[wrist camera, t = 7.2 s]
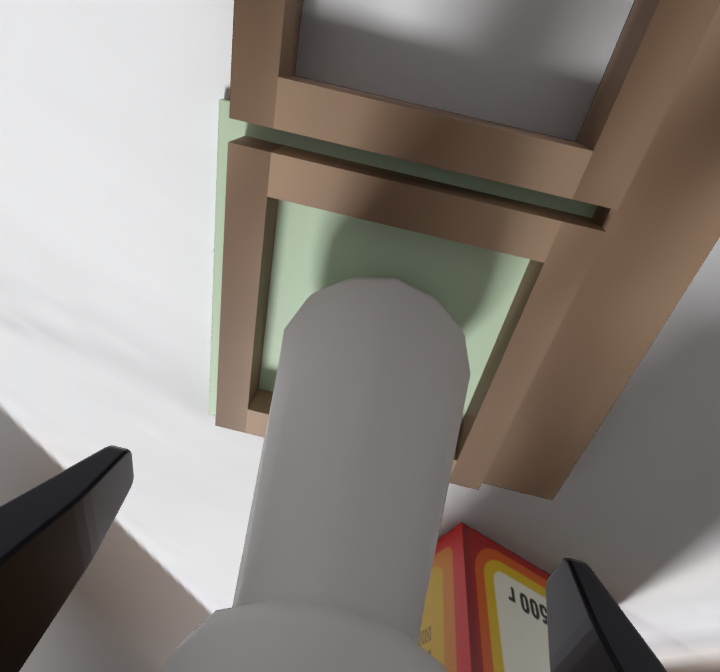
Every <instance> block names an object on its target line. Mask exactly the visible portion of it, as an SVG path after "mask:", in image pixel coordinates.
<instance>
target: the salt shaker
mask: <svg viewBox="0 0 720 672" xmlns="http://www.w3.org/2000/svg"><path fill="white" fill-rule="evenodd" d="M469 379H470V367H469V360H468V354H467V347H466V340H465V335H464V333H463V331H462V329H461V328H460V326H459V325H458V324H457V323H456V322H455V320H454V319H453V318H452V317H451V316H450V314H449V313H448V312H447V311H446V310H445V308H444V307H443V306H442V305H441V304H440V302H439V301H438V300H437V299H436V298H435V297H434V296H432V295H430V294H428V293H426V292H424V291H422V290H420V289H418V288H416V287H414V286H412V285H410V284H408V283H406V282H404V281H402V280H400V279H398V278H396V277H351V278H349V279H346V280H344V281H341V282H339V283H336V284H334V285H332V286H329V287H327V288H324V289H322V290H319V291H317V292H314V293H313V294H312V295H310V296H309V297H308V298H307V299H306V301H305V302H304V303H303V305H302V306H301V307H300V309H299V310H298V311H297V313H296V314H295V315H294V317H293V318H292V319H291V321H290V322H289V323H288V325H287V326H286V327H285V329H284V333H283V339H282V345H281V352H280V358H279V364H278V370H277V375H276V381H275V386H274V391H273V396H272V402H271V407H270V412H269V417H268V423H267V428H266V433H265V438H264V443H263V449H262V454H261V459H260V464H259V470H258V475H257V480H256V485H255V491H254V496H253V501H252V506H251V512H250V517H249V522H248V527H247V533H246V538H245V543H244V548H243V554H242V559H241V564H240V569H239V574H238V580H237V585H236V590H235V595H234V601H233V606H232V608H227V609H221V610H216V611H215V612H214V613H213V614H212V615H210V616H209V617H208V618H207V619H206V620H205V621H203V622H202V623H201V624H200V625H199V626H198V627H197V628H196V629H194V630H193V631H192V632H191V633H190V634H189V635H188V636H187V637H186V638H185V639H184V640H183V642H182V643H181V644H180V645H179V646H178V648H177V649H176V650H175V651H174V652H173V654H172V655H171V656H170V657H169V659H168V661H167V663H166V665H165V667H164V669H163V671H162V672H447V671H446V667H445V666H444V665H443V664H441V663H440V662H439V661H438V660H436V659H435V658H434V657H433V656H432V655H430V654H429V653H428V652H427V651H425V650H424V649H423V648H422V647H421V646H419V645H418V642H419V636H420V630H421V624H422V618H423V612H424V606H425V601H426V596H427V591H428V585H429V580H430V575H431V570H432V565H433V560H434V555H435V550H436V545H437V540H438V535H439V530H440V525H441V520H442V515H443V510H444V505H445V500H446V495H447V490H448V485H449V480H450V475H451V470H452V465H453V460H454V455H455V450H456V445H457V440H458V435H459V430H460V424H461V419H462V414H463V409H464V404H465V399H466V394H467V389H468V384H469Z"/></svg>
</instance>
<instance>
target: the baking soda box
mask: <svg viewBox="0 0 720 672" xmlns="http://www.w3.org/2000/svg"><path fill="white" fill-rule="evenodd" d="M550 576H551V575H550V574H548V573H546V572H544V571H543V570H541V569H539V568H538V567H536V566H534V565H533V564H531V563H529V562H528V561H526V560H524V559H523V558H521V557H519V556H518V555H516V554H514V553H512V552H511V551H509V550H507V549H506V548H504V547H502V546H501V545H499V544H497V543H496V542H494V541H492V540H491V539H489V538H487V537H486V536H484V535H482V534H481V533H479V532H477V531H475V530H474V529H472V528H470V527H469V526H467V525H465V524H464V523H462V522H461V523H460V524H458V525H457V526H456V527H454V528H453V529H452V530H450V531H449V532H447V533H446V534H445V535H443V536H442V537H441V538H439V539H438V540H437V545H436V550H435V555H434V560H433V565H432V570H431V575H430V580H429V585H428V591H427V596H426V601H425V606H424V612H423V618H422V624H421V630H420V636H419V642H418V645H419V646H421V647H422V648H423V649H424V650H425V651H427V652H428V653H429V654H430V655H432V656H433V657H434V658H435V659H436V660H438V661H439V662H440V663H441V664H443V665H444V666H445V667H446V671H447V672H550V661H549V644H548V626H547V608H546V584H547V581H548V579H549V577H550Z"/></svg>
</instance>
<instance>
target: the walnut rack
mask: <svg viewBox="0 0 720 672" xmlns="http://www.w3.org/2000/svg"><path fill="white" fill-rule="evenodd" d="M302 1H303V0H234V17H233V39H232V62H231V84H230V107H229V118H231V119H235V120H239V121H244V122H248V123H252V124H256V125H260V126H265V127H269V128H273V129H277V130H282V131H286V132H290V133H294V134H298V135H303V136H307V137H311V138H315V139H320V140H324V141H328V142H332V143H336V144H341V145H345V146H349V147H353V148H358V149H362V150H366V151H370V152H374V153H379V154H383V155H387V156H391V157H396V158H400V159H404V160H408V161H412V162H417V163H421V164H425V165H429V166H434V167H438V168H442V169H446V170H450V171H455V172H459V173H463V174H467V175H471V176H476V177H480V178H484V179H488V180H493V181H497V182H501V183H505V184H509V185H514V186H518V187H522V188H526V189H531V190H535V191H539V192H543V193H547V194H552V195H556V196H560V197H564V198H569V199H573V200H577V201H581V202H585V203H590V204H594V205H598V206H597V209H596V211H595V213H594V215H593V217H592V218H589V217H585V216H581V215H576V214H572V213H568V212H564V211H559V210H555V209H551V208H547V207H543V206H538V205H534V204H530V203H526V202H522V201H517V200H513V199H509V198H505V197H500V196H496V195H492V194H488V193H484V192H479V191H475V190H471V189H467V188H463V187H458V186H454V185H450V184H446V183H442V182H437V181H433V180H429V179H425V178H420V177H416V176H412V175H408V174H404V173H399V172H395V171H391V170H387V169H383V168H378V167H374V166H370V165H366V164H361V163H357V162H353V161H349V160H345V159H340V158H336V157H332V156H328V155H324V154H319V153H315V152H311V151H307V150H302V149H298V148H294V147H290V146H286V145H281V144H277V143H273V142H269V141H265V140H260V139H256V138H252V137H248V136H243V137H240V138H237V139H235V140H232V141H230V142H228V152H227V174H226V197H225V220H224V242H223V265H222V287H221V310H220V332H219V355H218V377H217V400H216V423H215V425H216V426H220V427H224V428H228V429H232V430H236V431H240V432H244V433H249V434H253V435H257V436H261V437H265V433H266V428H267V423H268V417H269V412H270V407H271V402H272V396H273V392H271V391H267V390H263V389H259V382H260V373H261V363H262V354H263V344H264V335H265V325H266V316H267V306H268V297H269V287H270V277H271V268H272V258H273V249H274V239H275V230H276V220H277V211H278V201H279V200H283V201H288V202H292V203H296V204H300V205H304V206H309V207H313V208H317V209H321V210H325V211H330V212H334V213H338V214H342V215H346V216H350V217H355V218H359V219H363V220H367V221H371V222H376V223H380V224H384V225H388V226H392V227H397V228H401V229H405V230H409V231H413V232H417V233H422V234H426V235H430V236H434V237H438V238H443V239H447V240H451V241H455V242H459V243H464V244H468V245H472V246H476V247H480V248H484V249H489V250H493V251H497V252H501V253H505V254H510V255H514V256H518V257H522V258H526V259H530V261H529V263H528V266H527V268H526V271H525V273H524V275H523V278H522V280H521V282H520V285H519V287H518V290H517V292H516V294H515V297H514V299H513V301H512V304H511V306H510V309H509V311H508V313H507V316H506V318H505V320H504V323H503V325H502V328H501V330H500V332H499V335H498V337H497V340H496V342H495V344H494V347H493V349H492V351H491V354H490V356H489V359H488V361H487V363H486V366H485V368H484V370H483V373H482V375H481V378H480V380H479V382H478V385H477V387H476V389H475V392H474V394H473V397H472V399H471V401H470V404H469V406H468V408H467V411H466V413H465V416H464V418H463V420H462V423H461V425H460V430H459V435H458V440H457V445H456V450H455V455H454V460H453V465H452V470H451V475H450V480H449V483H452V484H456V485H460V486H465V487H469V488H473V489H477V490H478V489H479V487H480V485H481V483H484V484H488V485H492V486H497V487H501V488H505V489H509V490H513V491H517V492H521V493H525V494H529V495H533V496H537V497H541V498H545V499H550V500H553V499H554V497H555V495H556V494H557V492H558V491H559V489H560V488H561V486H562V484H563V483H564V481H565V480H566V478H567V477H568V475H569V473H570V472H571V470H572V469H573V467H574V466H575V464H576V462H577V461H578V459H579V458H580V456H581V454H582V453H583V451H584V450H585V448H586V447H587V445H588V443H589V442H590V440H591V439H592V437H593V436H594V434H595V432H596V431H597V429H598V428H599V426H600V425H601V423H602V421H603V420H604V418H605V417H606V415H607V414H608V412H609V410H610V409H611V407H612V406H613V404H614V403H615V401H616V399H617V398H618V396H619V395H620V393H621V391H622V390H623V388H624V387H625V385H626V384H627V382H628V380H629V379H630V377H631V376H632V374H633V373H634V371H635V369H636V368H637V366H638V365H639V363H640V362H641V360H642V358H643V357H644V355H645V354H646V352H647V351H648V349H649V347H650V346H651V344H652V343H653V341H654V340H655V338H656V336H657V335H658V333H659V332H660V330H661V328H662V327H663V325H664V324H665V322H666V321H667V319H668V317H669V316H670V314H671V313H672V311H673V310H674V308H675V306H676V305H677V303H678V302H679V300H680V299H681V297H682V295H683V294H684V292H685V291H686V289H687V288H688V286H689V284H690V283H691V281H692V280H693V278H694V277H695V275H696V273H697V272H698V270H699V269H700V267H701V265H702V264H703V262H704V261H705V259H706V258H707V256H708V254H709V253H710V251H711V250H712V248H713V247H714V245H715V243H716V242H717V240H718V239H719V237H720V0H635V1H634V4H633V6H632V9H631V11H630V13H629V16H628V18H627V21H626V23H625V25H624V28H623V30H622V33H621V35H620V37H619V40H618V42H617V45H616V47H615V49H614V52H613V54H612V57H611V59H610V61H609V64H608V66H607V69H606V71H605V73H604V76H603V78H602V81H601V83H600V85H599V88H598V90H597V93H596V95H595V97H594V100H593V102H592V105H591V107H590V109H589V112H588V114H587V117H586V119H585V121H584V124H583V126H582V129H581V131H580V133H579V136H578V138H577V141H576V142H574V141H569V140H565V139H561V138H557V137H552V136H548V135H544V134H540V133H535V132H531V131H527V130H523V129H518V128H514V127H510V126H506V125H501V124H497V123H493V122H489V121H484V120H480V119H476V118H472V117H467V116H463V115H459V114H455V113H450V112H446V111H442V110H438V109H433V108H429V107H425V106H421V105H416V104H412V103H408V102H404V101H399V100H395V99H391V98H387V97H382V96H378V95H374V94H370V93H365V92H361V91H357V90H353V89H348V88H344V87H340V86H336V85H331V84H327V83H323V82H319V81H314V80H310V79H306V78H302V77H297V76H294V75H295V66H296V57H297V48H298V38H299V29H300V20H301V11H302Z"/></svg>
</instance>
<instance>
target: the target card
mask: <svg viewBox="0 0 720 672" xmlns="http://www.w3.org/2000/svg"><path fill="white" fill-rule="evenodd" d="M229 107H230V100H226V99H219V121H218V151H217V181H216V210H215V240H214V270H213V300H212V330H211V360H210V390H209V414H210V415H214V416H216V400H217V377H218V355H219V332H220V310H221V287H222V265H223V242H224V220H225V197H226V174H227V152H228V142H230V141H232V140H235V139H237V138H240V137H243V136H248V137H252V138H256V139H260V140H265V141H269V142H273V143H277V144H281V145H286V146H290V147H294V148H298V149H302V150H307V151H311V152H315V153H319V154H324V155H328V156H332V157H336V158H340V159H345V160H349V161H353V162H357V163H361V164H366V165H370V166H374V167H378V168H383V169H387V170H391V171H395V172H399V173H404V174H408V175H412V176H416V177H420V178H425V179H429V180H433V181H437V182H442V183H446V184H450V185H454V186H458V187H463V188H467V189H471V190H475V191H479V192H484V193H488V194H492V195H496V196H500V197H505V198H509V199H513V200H517V201H522V202H526V203H530V204H534V205H538V206H543V207H547V208H551V209H555V210H559V211H564V212H568V213H572V214H576V215H581V216H585V217H589V218H592V217H593V215H594V213H595V211H596V209H597V206H598V205H594V204H590V203H585V202H581V201H577V200H573V199H569V198H564V197H560V196H556V195H552V194H547V193H543V192H539V191H535V190H531V189H526V188H522V187H518V186H514V185H509V184H505V183H501V182H497V181H493V180H488V179H484V178H480V177H476V176H471V175H467V174H463V173H459V172H455V171H450V170H446V169H442V168H438V167H434V166H429V165H425V164H421V163H417V162H412V161H408V160H404V159H400V158H396V157H391V156H387V155H383V154H379V153H374V152H370V151H366V150H362V149H358V148H353V147H349V146H345V145H341V144H336V143H332V142H328V141H324V140H320V139H315V138H311V137H307V136H303V135H298V134H294V133H290V132H286V131H282V130H277V129H273V128H269V127H265V126H260V125H256V124H252V123H248V122H244V121H239V120H235V119H231V118H229ZM529 261H530V259H526V258H522V257H518V256H514V255H510V254H505V253H501V252H497V251H493V250H489V249H484V248H480V247H476V246H472V245H468V244H464V243H459V242H455V241H451V240H447V239H443V238H438V237H434V236H430V235H426V234H422V233H417V232H413V231H409V230H405V229H401V228H397V227H392V226H388V225H384V224H380V223H376V222H371V221H367V220H363V219H359V218H355V217H350V216H346V215H342V214H338V213H334V212H330V211H325V210H321V209H317V208H313V207H309V206H304V205H300V204H296V203H292V202H288V201H283V200H279V201H278V211H277V220H276V230H275V239H274V249H273V258H272V268H271V277H270V287H269V297H268V306H267V316H266V325H265V335H264V344H263V354H262V363H261V373H260V382H259V389H263V390H267V391H271V392H273V391H274V386H275V381H276V375H277V370H278V364H279V358H280V352H281V345H282V339H283V333H284V329H285V327H286V326H287V325H288V323H289V322H290V321H291V319H292V318H293V317H294V315H295V314H296V313H297V311H298V310H299V309H300V307H301V306H302V305H303V303H304V302H305V301H306V299H307V298H308V297H309V296H310V295H312V294H313V293H314V292H317V291H319V290H322V289H324V288H327V287H329V286H332V285H334V284H336V283H339V282H341V281H344V280H346V279H349V278H351V277H396V278H398V279H400V280H402V281H404V282H406V283H408V284H410V285H412V286H414V287H416V288H418V289H420V290H422V291H424V292H426V293H428V294H430V295H432V296H434V297H435V298H436V299H437V300H438V301H439V302H440V304H441V305H442V306H443V307H444V308H445V310H446V311H447V312H448V313H449V314H450V316H451V317H452V318H453V319H454V320H455V322H456V323H457V324H458V325H459V326H460V328H461V329H462V331H463V333H464V335H465V340H466V347H467V354H468V360H469V367H470V379H469V384H468V389H467V394H466V399H465V404H464V409H463V414H462V419H461V423H462V420H463V418H464V416H465V413H466V411H467V408H468V406H469V404H470V401H471V399H472V397H473V394H474V392H475V389H476V387H477V385H478V382H479V380H480V378H481V375H482V373H483V370H484V368H485V366H486V363H487V361H488V359H489V356H490V354H491V351H492V349H493V347H494V344H495V342H496V340H497V337H498V335H499V332H500V330H501V328H502V325H503V323H504V320H505V318H506V316H507V313H508V311H509V309H510V306H511V304H512V301H513V299H514V297H515V294H516V292H517V290H518V287H519V285H520V282H521V280H522V278H523V275H524V273H525V271H526V268H527V266H528V263H529ZM460 425H461V424H460Z"/></svg>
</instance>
